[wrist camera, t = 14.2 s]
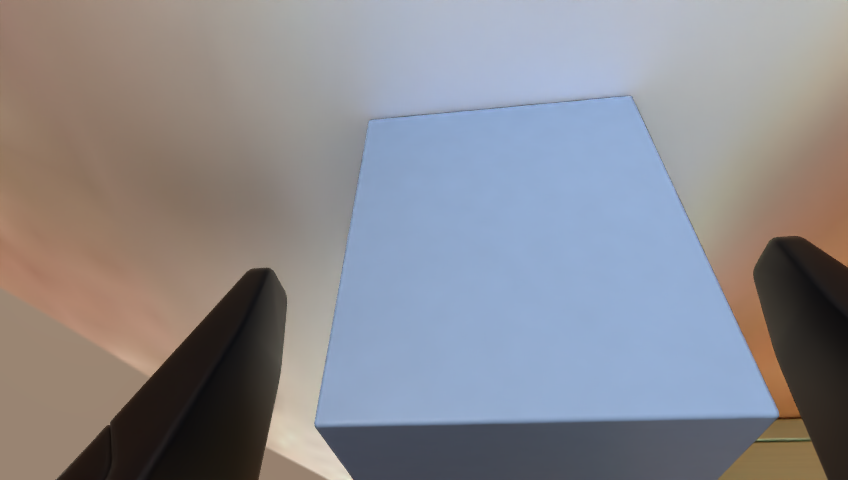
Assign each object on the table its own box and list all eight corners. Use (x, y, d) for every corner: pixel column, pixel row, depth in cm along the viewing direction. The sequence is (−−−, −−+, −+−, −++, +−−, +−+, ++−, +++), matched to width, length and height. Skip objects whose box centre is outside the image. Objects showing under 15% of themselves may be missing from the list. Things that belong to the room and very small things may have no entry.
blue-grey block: (633, 94, 8) (783, 416, 5) (597, 264, 12) (668, 532, 8) (368, 118, 9) (312, 426, 5) (406, 275, 12) (389, 531, 9)
